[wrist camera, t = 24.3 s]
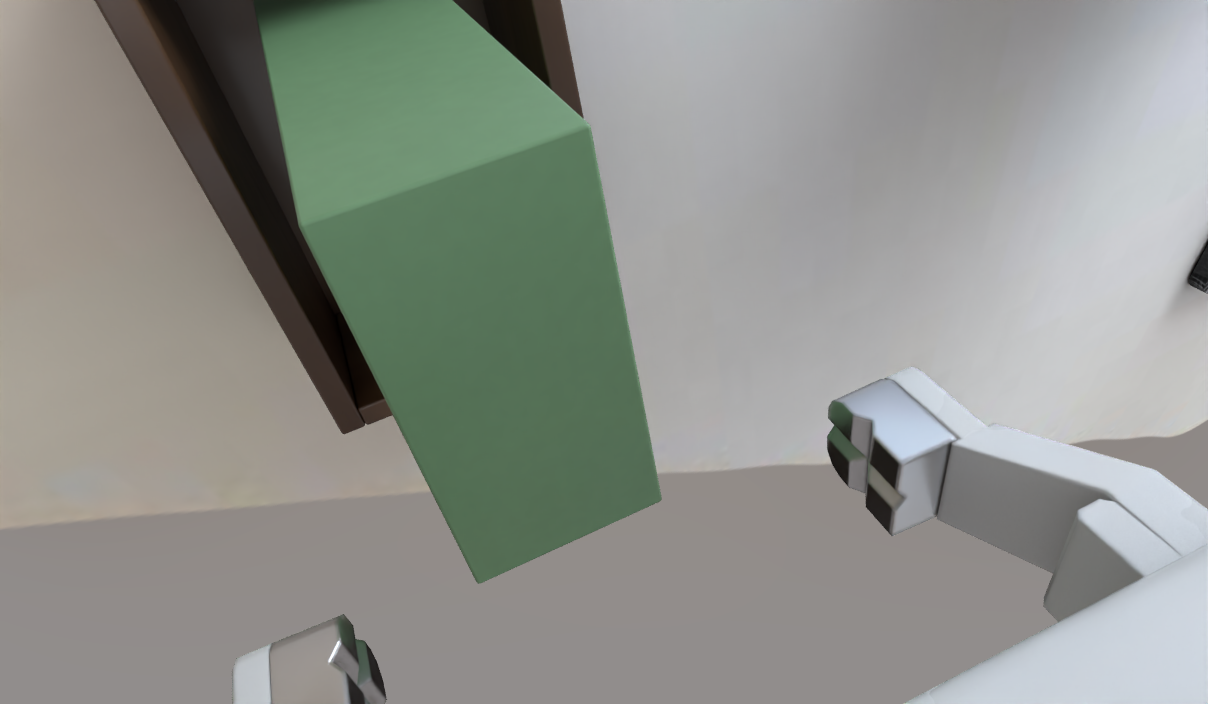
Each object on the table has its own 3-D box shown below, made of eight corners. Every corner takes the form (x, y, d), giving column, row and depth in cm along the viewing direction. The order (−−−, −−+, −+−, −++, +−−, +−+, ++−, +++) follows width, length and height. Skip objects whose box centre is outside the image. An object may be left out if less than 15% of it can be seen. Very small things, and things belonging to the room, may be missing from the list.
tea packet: (591, 123, 11) (663, 504, 17) (395, -53, 23) (477, 208, 29) (297, 224, 10) (479, 588, 16) (249, -12, 22) (365, 248, 28)
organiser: (455, -194, 22) (525, -186, 17) (560, 240, 32) (624, 323, 27) (91, -105, 20) (54, -68, 15) (320, 329, 30) (342, 435, 25)
